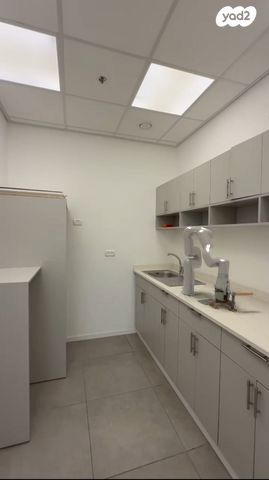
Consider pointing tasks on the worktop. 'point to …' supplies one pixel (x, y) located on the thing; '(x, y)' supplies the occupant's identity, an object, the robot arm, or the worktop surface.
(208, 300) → the mat
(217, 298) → the food container
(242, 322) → the worktop surface
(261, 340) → the worktop surface
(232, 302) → the wooden blocks
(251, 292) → the tall wooden post
